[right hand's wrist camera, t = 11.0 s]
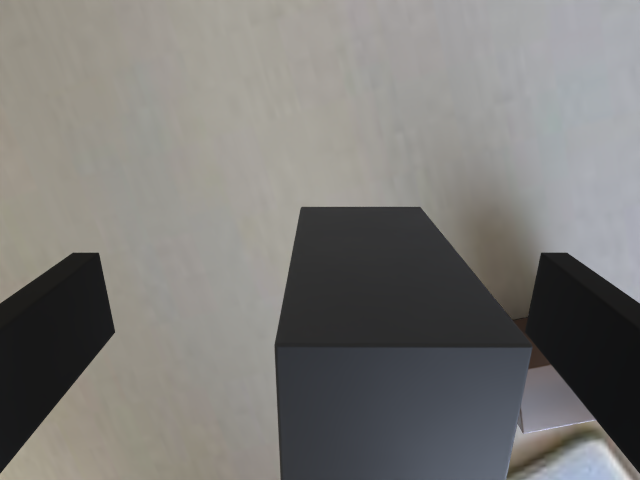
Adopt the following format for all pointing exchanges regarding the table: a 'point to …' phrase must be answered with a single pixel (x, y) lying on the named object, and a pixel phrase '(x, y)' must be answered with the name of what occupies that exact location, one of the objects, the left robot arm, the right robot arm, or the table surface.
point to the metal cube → (547, 395)
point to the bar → (392, 354)
